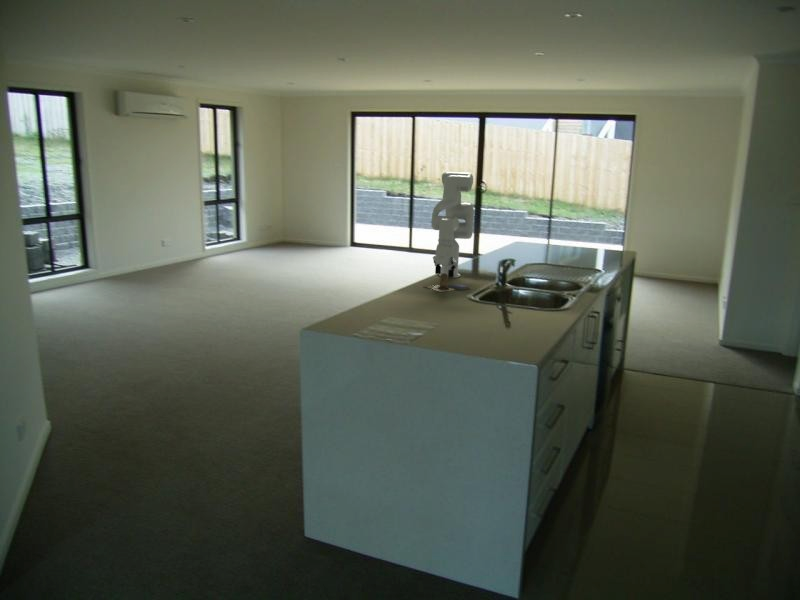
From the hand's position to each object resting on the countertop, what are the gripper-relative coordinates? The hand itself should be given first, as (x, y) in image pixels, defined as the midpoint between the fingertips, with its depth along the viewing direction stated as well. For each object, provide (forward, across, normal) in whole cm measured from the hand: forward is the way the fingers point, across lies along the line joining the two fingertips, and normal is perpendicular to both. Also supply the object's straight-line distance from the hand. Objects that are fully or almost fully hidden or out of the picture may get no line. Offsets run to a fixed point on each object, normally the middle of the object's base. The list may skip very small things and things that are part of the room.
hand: (444, 275), depth 328 cm
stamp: (+7, +1, -1) cm, 7 cm away
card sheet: (+7, -3, -1) cm, 8 cm away
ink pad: (+8, +2, +9) cm, 12 cm away
